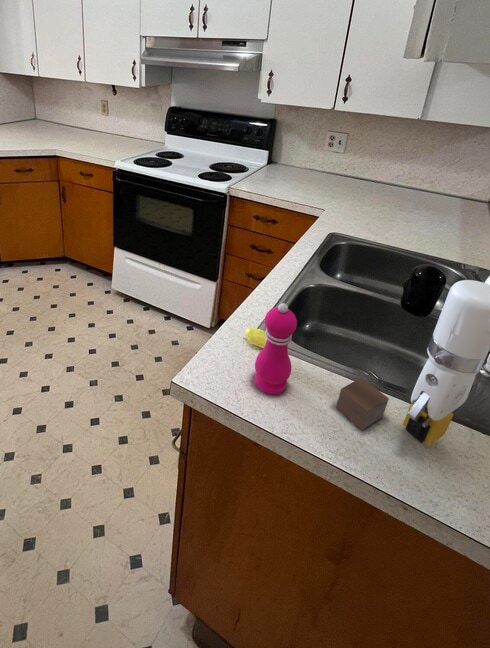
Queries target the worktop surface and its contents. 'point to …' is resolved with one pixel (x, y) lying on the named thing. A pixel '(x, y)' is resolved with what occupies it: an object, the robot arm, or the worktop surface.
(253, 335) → the lemon
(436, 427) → the mustard block
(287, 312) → the pepper mill
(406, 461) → the worktop surface
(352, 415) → the walnut block
